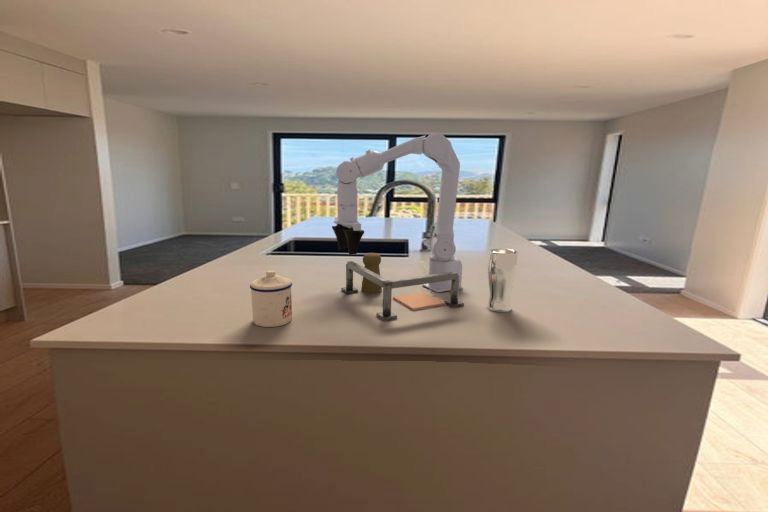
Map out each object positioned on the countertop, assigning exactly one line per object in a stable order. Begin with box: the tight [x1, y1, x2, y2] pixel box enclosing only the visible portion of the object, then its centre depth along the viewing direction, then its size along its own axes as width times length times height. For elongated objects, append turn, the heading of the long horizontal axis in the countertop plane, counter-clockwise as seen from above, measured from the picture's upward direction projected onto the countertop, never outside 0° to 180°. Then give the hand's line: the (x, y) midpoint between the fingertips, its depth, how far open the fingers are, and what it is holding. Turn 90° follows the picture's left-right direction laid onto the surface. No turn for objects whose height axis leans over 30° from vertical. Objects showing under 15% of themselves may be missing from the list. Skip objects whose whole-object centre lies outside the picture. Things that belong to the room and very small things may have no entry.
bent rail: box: [340, 260, 465, 322], centre depth 106 cm, size 24×26×9 cm
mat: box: [392, 291, 446, 312], centre depth 104 cm, size 10×10×1 cm
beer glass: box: [486, 248, 519, 313], centre depth 99 cm, size 7×7×15 cm
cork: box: [360, 252, 383, 295], centre depth 112 cm, size 6×6×11 cm
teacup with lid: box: [249, 269, 293, 328], centre depth 90 cm, size 12×9×12 cm
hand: (347, 251), depth 115 cm, fingers open, 7 cm apart
